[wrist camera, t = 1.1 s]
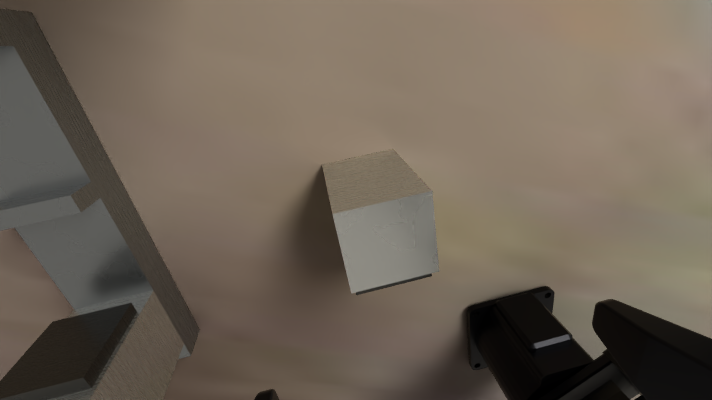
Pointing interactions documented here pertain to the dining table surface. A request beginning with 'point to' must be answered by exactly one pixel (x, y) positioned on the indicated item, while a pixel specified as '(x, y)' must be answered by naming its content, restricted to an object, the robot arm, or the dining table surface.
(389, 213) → the block
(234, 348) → the dining table surface
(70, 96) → the rail
